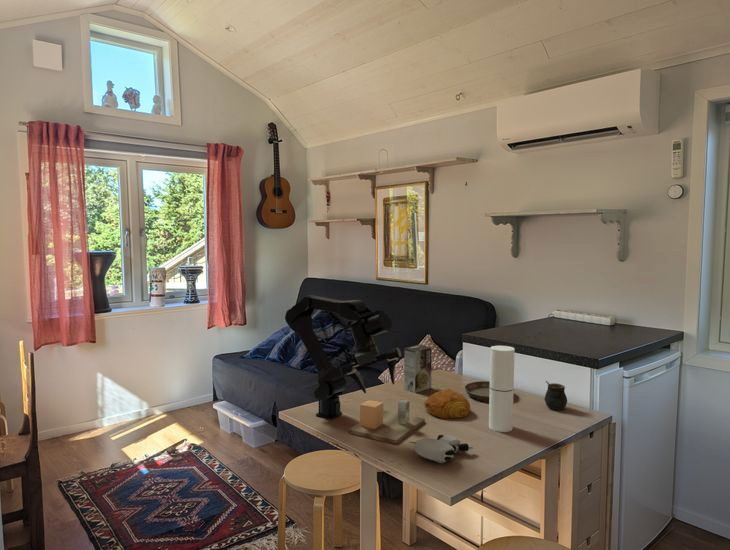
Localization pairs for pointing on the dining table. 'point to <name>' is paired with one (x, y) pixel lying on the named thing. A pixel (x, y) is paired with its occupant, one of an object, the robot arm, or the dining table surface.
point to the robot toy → (440, 448)
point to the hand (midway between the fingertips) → (379, 388)
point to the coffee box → (417, 368)
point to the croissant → (447, 404)
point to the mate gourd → (556, 396)
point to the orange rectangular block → (371, 414)
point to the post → (403, 412)
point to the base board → (388, 428)
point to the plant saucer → (478, 390)
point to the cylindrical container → (501, 388)
